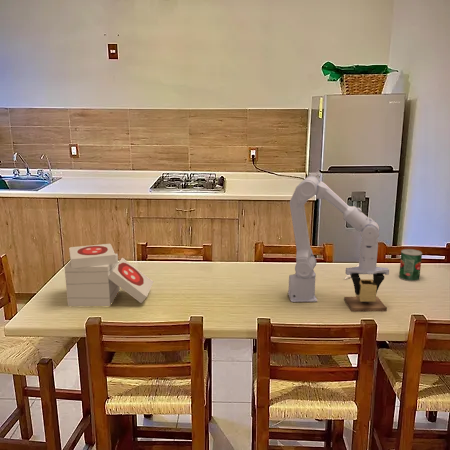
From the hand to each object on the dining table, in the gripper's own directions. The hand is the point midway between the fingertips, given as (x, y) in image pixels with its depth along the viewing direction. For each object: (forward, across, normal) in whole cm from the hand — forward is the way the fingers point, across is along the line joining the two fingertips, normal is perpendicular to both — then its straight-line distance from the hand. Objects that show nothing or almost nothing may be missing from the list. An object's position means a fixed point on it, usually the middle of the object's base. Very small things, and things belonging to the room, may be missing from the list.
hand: (365, 293), depth 170 cm
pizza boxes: (+5, -91, +8) cm, 91 cm away
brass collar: (+2, 0, 0) cm, 2 cm away
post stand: (+4, 0, 0) cm, 4 cm away
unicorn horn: (+5, +8, +34) cm, 36 cm away
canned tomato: (+5, +26, +27) cm, 38 cm away
